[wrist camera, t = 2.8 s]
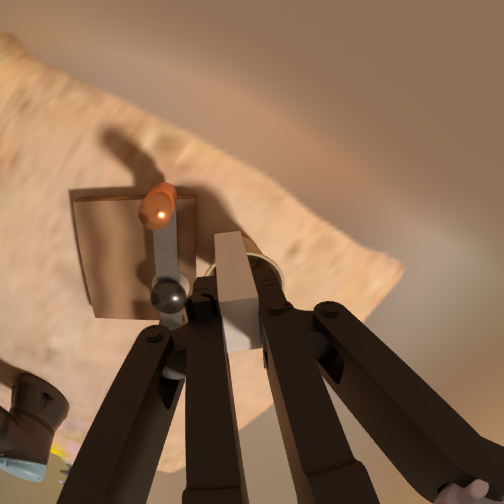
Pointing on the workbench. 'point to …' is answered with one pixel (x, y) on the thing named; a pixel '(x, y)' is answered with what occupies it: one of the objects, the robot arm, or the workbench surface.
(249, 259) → the flower pot
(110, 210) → the board
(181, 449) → the workbench surface
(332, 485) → the robot arm
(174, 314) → the lever
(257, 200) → the workbench surface
